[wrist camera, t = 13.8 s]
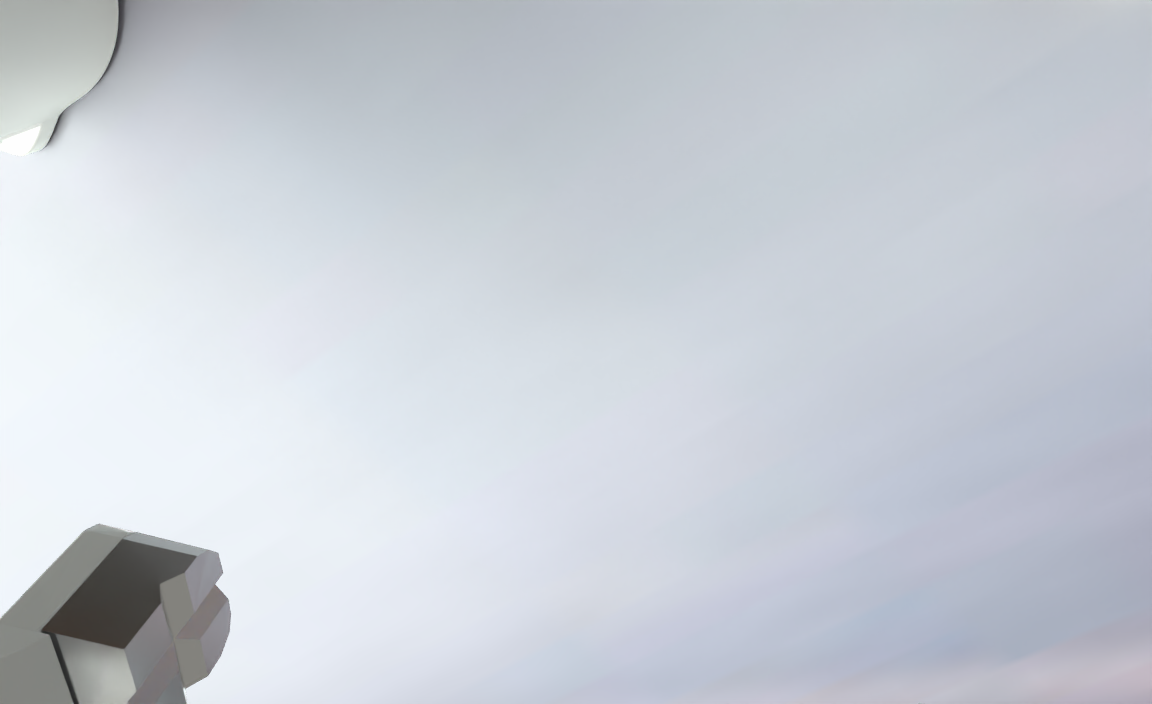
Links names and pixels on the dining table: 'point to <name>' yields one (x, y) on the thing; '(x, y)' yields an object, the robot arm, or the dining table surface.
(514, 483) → the dining table surface
